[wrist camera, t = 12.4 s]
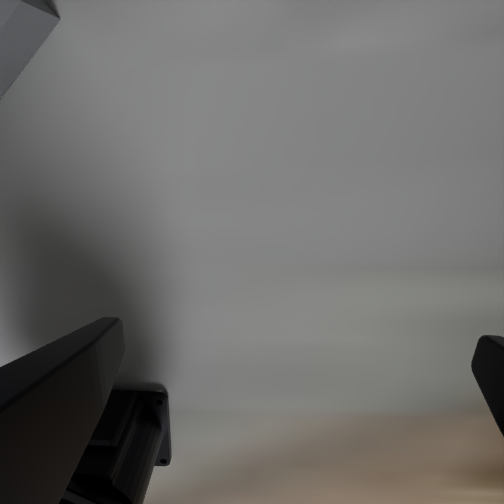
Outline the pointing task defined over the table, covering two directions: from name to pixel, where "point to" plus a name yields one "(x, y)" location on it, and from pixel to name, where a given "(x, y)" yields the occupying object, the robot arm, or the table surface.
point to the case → (21, 35)
